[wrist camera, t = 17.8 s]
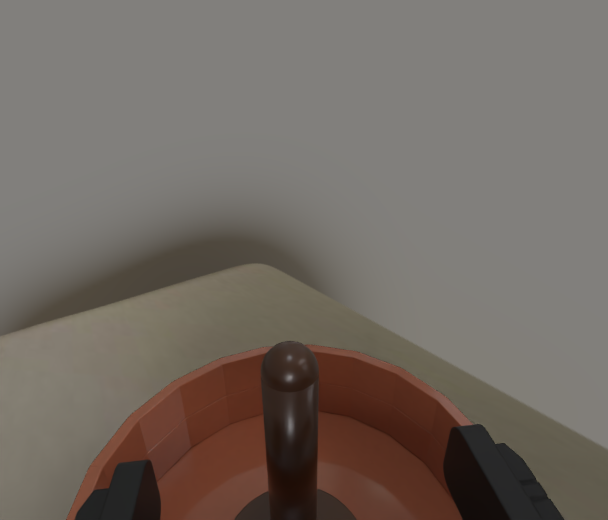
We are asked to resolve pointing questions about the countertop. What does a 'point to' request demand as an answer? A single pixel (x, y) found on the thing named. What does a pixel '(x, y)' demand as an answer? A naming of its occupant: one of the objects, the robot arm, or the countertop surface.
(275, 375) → the paper towel holder
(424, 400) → the bowl
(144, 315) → the countertop surface
